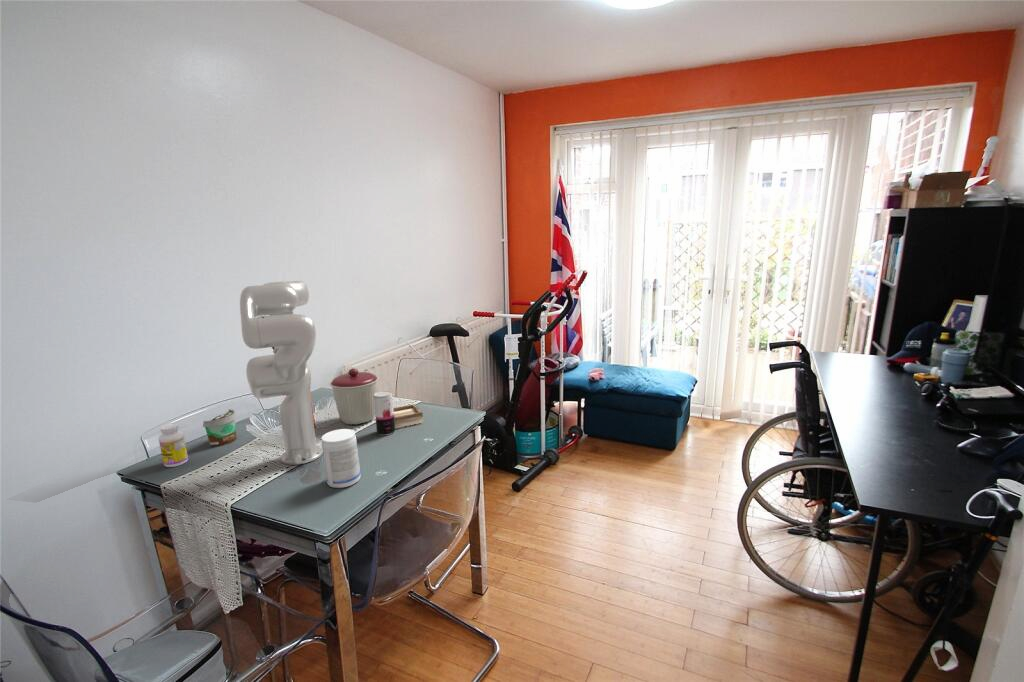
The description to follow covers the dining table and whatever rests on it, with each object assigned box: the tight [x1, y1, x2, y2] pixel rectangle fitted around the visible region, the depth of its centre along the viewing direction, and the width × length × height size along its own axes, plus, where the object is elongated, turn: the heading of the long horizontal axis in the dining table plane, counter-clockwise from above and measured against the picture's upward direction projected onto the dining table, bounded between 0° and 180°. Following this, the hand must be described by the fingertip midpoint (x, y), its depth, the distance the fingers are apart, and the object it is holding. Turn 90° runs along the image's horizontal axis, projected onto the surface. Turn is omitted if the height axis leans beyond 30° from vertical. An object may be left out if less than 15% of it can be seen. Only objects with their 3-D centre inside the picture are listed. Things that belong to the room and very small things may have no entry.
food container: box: [202, 409, 238, 447], centre depth 169 cm, size 12×6×10 cm, turn 168°
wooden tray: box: [393, 403, 424, 430], centre depth 184 cm, size 11×11×4 cm
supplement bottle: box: [158, 423, 189, 468], centre depth 153 cm, size 7×7×13 cm
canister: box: [329, 368, 379, 425], centre depth 185 cm, size 18×18×21 cm
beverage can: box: [374, 390, 396, 436], centre depth 173 cm, size 7×7×15 cm
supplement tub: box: [320, 428, 362, 489], centre depth 138 cm, size 10×10×15 cm
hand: (288, 364), depth 168 cm, fingers open, 9 cm apart
